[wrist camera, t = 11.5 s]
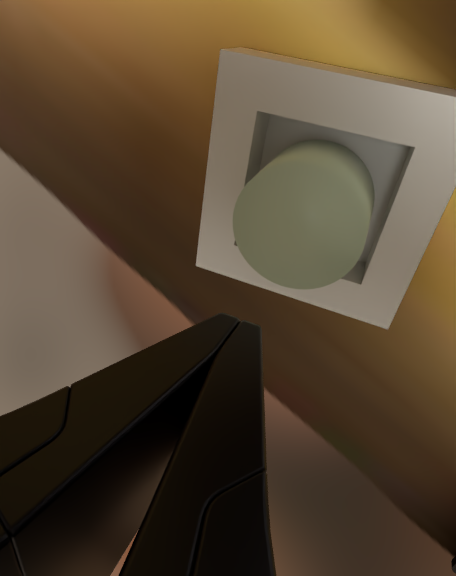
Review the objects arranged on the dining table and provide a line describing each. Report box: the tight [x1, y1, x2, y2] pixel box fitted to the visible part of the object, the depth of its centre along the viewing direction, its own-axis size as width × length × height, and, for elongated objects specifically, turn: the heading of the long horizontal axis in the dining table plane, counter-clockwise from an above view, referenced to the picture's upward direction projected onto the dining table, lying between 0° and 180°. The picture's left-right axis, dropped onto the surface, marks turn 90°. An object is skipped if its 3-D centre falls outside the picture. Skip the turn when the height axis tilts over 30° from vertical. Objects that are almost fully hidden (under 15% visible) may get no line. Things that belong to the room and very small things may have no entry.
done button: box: [233, 140, 375, 290], centre depth 14 cm, size 4×4×3 cm
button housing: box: [196, 47, 456, 329], centre depth 15 cm, size 8×8×2 cm
